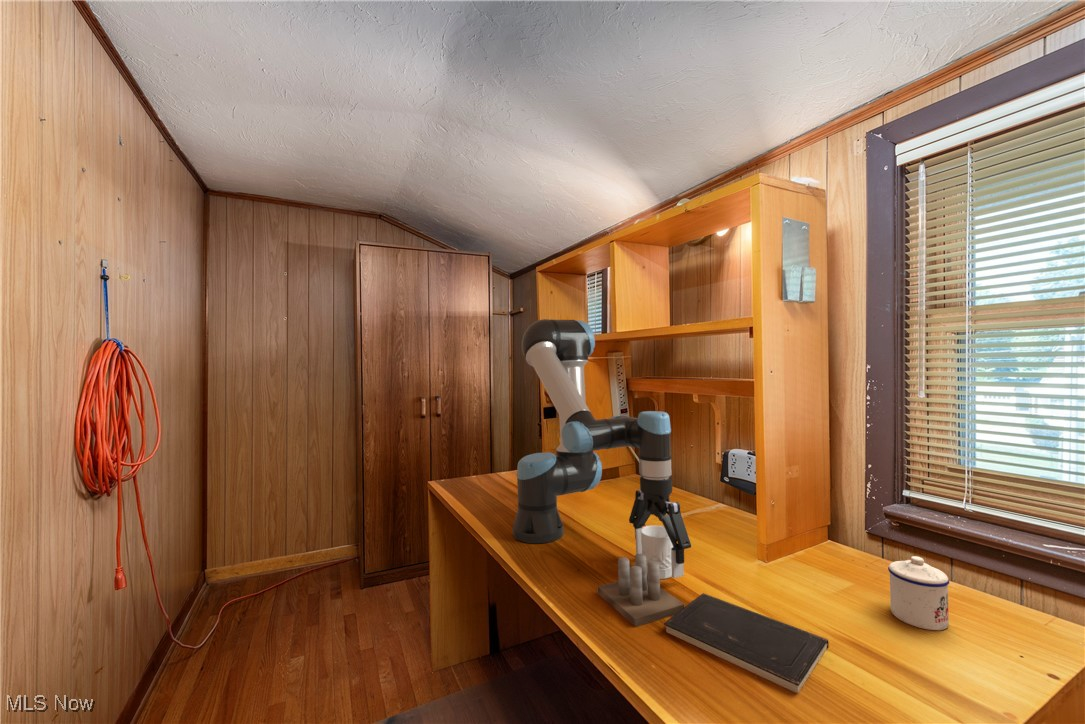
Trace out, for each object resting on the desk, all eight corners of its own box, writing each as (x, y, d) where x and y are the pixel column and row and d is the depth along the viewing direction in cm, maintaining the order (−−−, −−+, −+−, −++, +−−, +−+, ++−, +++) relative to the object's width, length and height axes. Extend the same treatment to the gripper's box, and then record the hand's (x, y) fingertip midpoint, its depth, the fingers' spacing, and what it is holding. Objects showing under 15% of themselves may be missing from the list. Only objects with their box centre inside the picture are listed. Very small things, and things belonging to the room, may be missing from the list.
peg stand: (597, 593, 99) (596, 554, 99) (642, 581, 104) (641, 544, 104) (635, 626, 86) (634, 582, 86) (684, 611, 91) (683, 569, 91)
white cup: (676, 581, 104) (675, 538, 104) (641, 579, 105) (640, 536, 105) (673, 566, 111) (672, 526, 111) (641, 564, 113) (640, 524, 113)
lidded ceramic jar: (949, 638, 81) (948, 573, 81) (886, 619, 87) (884, 559, 87) (951, 610, 89) (950, 551, 89) (893, 595, 96) (892, 540, 96)
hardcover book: (798, 699, 68) (798, 683, 68) (663, 635, 85) (663, 622, 85) (828, 650, 79) (828, 637, 79) (704, 602, 96) (704, 591, 96)
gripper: (705, 485, 98) (709, 583, 98) (637, 464, 121) (640, 543, 121) (678, 490, 95) (681, 591, 95) (614, 468, 118) (616, 549, 118)
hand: (658, 564), depth 108 cm, fingers open, 13 cm apart
